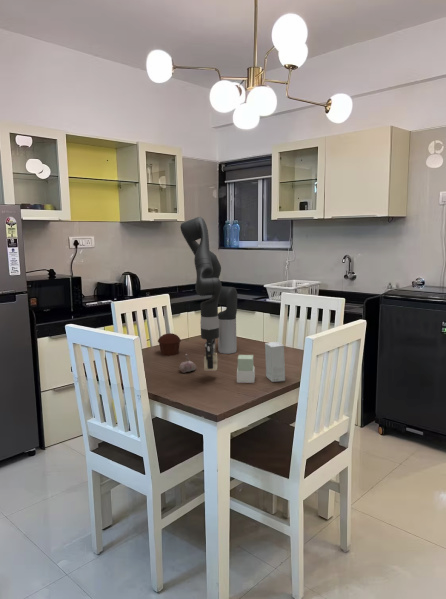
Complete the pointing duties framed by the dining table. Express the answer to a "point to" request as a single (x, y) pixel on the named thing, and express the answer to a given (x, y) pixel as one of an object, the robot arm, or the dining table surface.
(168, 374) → the dining table surface
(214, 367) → the beige metal block
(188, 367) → the garlic bulb
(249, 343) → the dining table surface
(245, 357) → the sage block
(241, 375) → the grey base block
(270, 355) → the skincare box
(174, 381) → the dining table surface
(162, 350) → the muffin
